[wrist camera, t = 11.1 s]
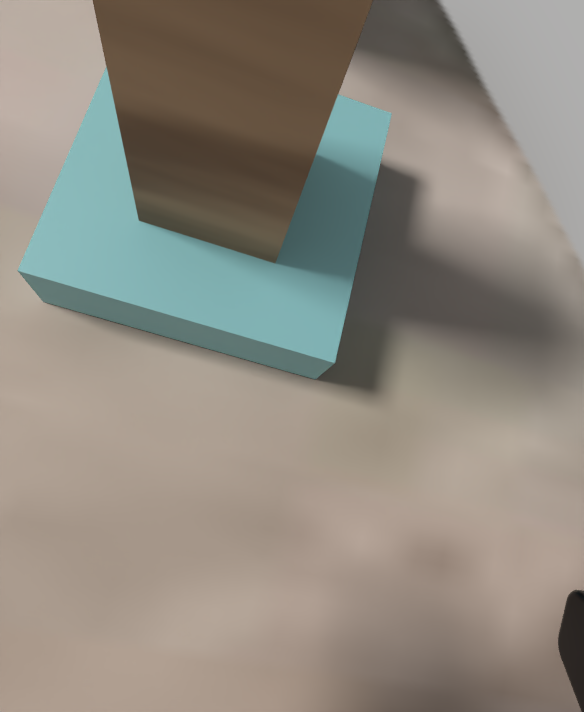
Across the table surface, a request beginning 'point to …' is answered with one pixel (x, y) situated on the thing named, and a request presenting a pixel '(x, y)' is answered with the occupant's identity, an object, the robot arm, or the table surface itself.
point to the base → (210, 250)
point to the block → (225, 108)
